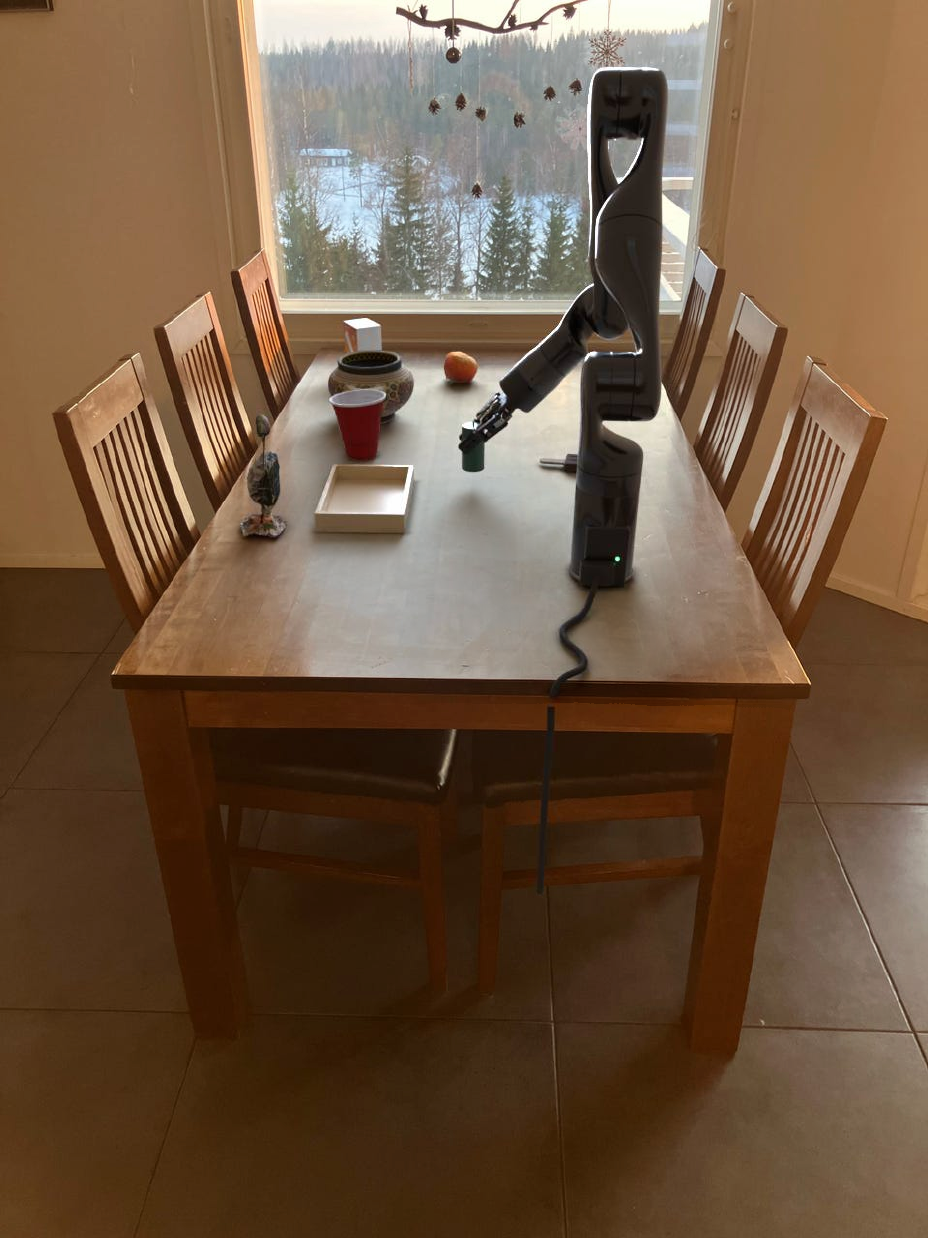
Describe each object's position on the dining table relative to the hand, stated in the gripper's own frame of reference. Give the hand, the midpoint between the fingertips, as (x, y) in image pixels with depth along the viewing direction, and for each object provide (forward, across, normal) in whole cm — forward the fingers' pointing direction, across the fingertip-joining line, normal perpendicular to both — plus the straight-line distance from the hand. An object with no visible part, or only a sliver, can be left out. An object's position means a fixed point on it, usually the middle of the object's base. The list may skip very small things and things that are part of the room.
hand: (462, 445), depth 174 cm
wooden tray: (+17, +10, -6) cm, 20 cm away
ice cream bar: (-10, -9, +21) cm, 25 cm away
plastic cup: (+20, -14, -9) cm, 26 cm away
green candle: (+2, 0, +4) cm, 5 cm away
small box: (+23, -65, -13) cm, 70 cm away
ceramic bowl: (+19, -36, -9) cm, 42 cm away
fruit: (+7, -63, +3) cm, 64 cm away
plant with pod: (+28, +19, -17) cm, 38 cm away
